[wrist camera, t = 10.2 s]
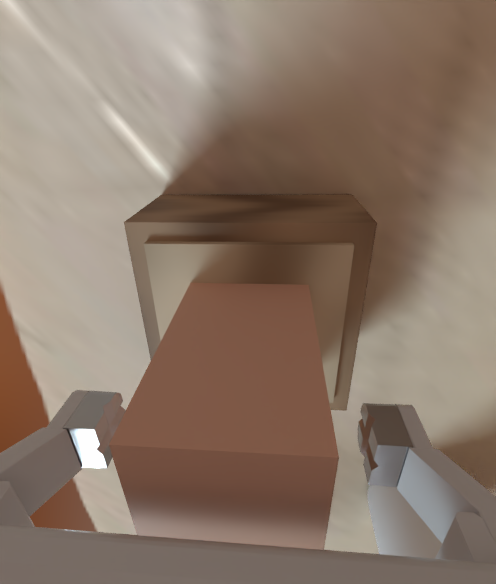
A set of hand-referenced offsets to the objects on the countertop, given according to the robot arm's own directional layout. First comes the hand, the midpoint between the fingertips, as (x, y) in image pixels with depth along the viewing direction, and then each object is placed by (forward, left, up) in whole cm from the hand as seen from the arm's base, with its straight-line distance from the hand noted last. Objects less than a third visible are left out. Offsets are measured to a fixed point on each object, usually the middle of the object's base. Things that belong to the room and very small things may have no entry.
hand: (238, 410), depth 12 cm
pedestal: (0, 0, -10) cm, 10 cm away
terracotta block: (0, 0, -5) cm, 5 cm away
